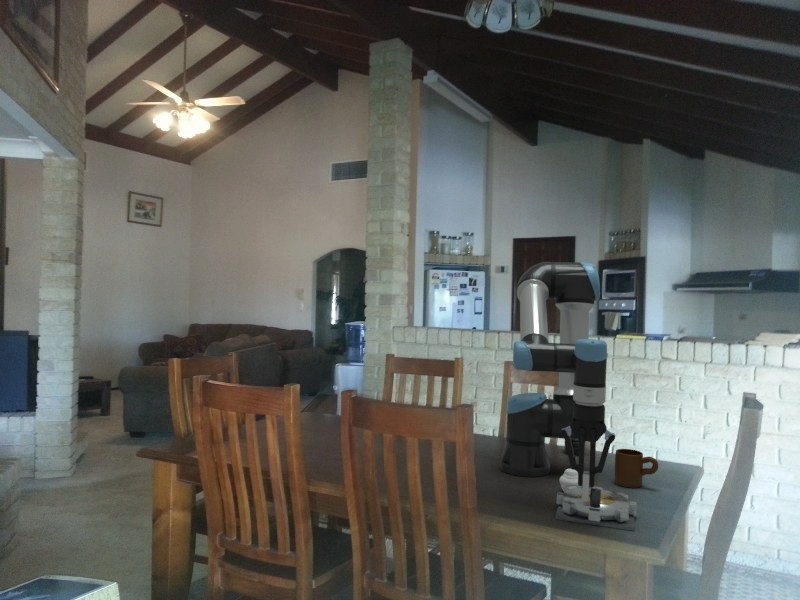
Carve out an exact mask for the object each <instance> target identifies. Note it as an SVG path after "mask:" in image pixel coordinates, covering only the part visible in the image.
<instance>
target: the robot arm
mask: <svg viewBox="0 0 800 600" xmlns="http://www.w3.org/2000/svg"><path fill="white" fill-rule="evenodd" d="M600 283H601V282H600V276H599V273H598V268H597V267H596V266H595V265H594V263H589V262H581V261H579V262H577V261H575V262H572V261H570V262H569V261H565V262H564V261H563V262H562V261H559V262H557V261H542V262H539V263H536V264H534V265H533V266H530V267H529V268H528V269H527V270H526V271H525V272H524V273H523V274H522V275H521V276H520V278H519V280H518V282H517V284H516V297H517V299H518V301H519V324H520V328H519V329H520V330H519V331H520V333H519V335H520V336H519V337H520V339H519V340H520V341H515V342H514V343H513V347H512V348H513V349H512V350H513V351H512V367H513V369H516V370H517V371H518V370H520V371H527V372H548V373H549V372H551V373H553V372H555V373H558V387H557V389H555V391H554V392H553V394H552V395H553V397H552V398H548V396H547V395H546V394H545V393H542V392H527V393H525V392H524V393H518V394H514V395H512V396H510V397H509V399H508V401H507V407H506V408H507V409H506V414H507V415H506V417H507V418H506V434H505V435H506V436H505V438H506V442H505V446H504V448H503V451H502V453H501V455H500V460H499V469H500V470H501V471H503V472H504V473H507V474H509V475H514V476H518V477H529V478H530V477H531V478H532V477H533V478H535V477H543V476H547V475H549V474H550V473H551V472H550V469H551V463H550V461H549V460H550V459H549V456H548V454H547V451H546V446H545V444H546V438H548V439H549V438H551V439H553V438H554V439H563V440H564V444H565V443H566V448H567V452H568V454H567V456H568V460H569V465H570V469H572V470H576V471H577V472H578V485H579V486H581V488H582V501H587V502H588V501H589V488H592V487H595V481H596V480H595V479H596V478H595V477H596V474H602V473H603V472H604V471H603V470H604V467H605V464H606V461H607V457H608V453H609V451H610V448H611V444H612V443H613V442H614V441H615V439H616V434H615V433H614V432H611V431H610V430H609V429H607V425H606V420H605V419H606V417H605V416H606V406H605V405H604V404H605V403H606V396H607V394H606V391H607V386H606V384H607V383H606V382H607V381H606V380H607V365H608V364H607V363H608V362H607V360H608V356H609V355H608V354H609V353H608V344H607V342H606V341H605V340H602V339H596V338H595V339H591V338H589V335H590V334H589V332H590V328H589V327H590V325H589V324H590V311H591V310H592V309H593V308H594V307H595V302H596V301H599V300H600V297H601V292H600V291H601V286H600V285H601V284H600ZM548 299H549V300H555V306H556V307H557V309H559V313H560V315H559V322H560V323H559V342H549V329H548V325H549V324H548V313H547V300H548ZM602 436H604V440H605V442H604V443H603V444H604V445H603V448H602V451H601V455H600V458H599V461H598V466H596V453H597V452H596V447H597V442H598V441H599V440H600V439H601V437H602ZM571 439H575V440H579V456H578V462H576V455H574V451H573V446H572V441H571ZM586 442H589V469H588V470H589V471H587V470H586V471H585V455H586Z"/></svg>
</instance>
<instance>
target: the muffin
mask: <svg viewBox="0 0 800 600" xmlns="http://www.w3.org/2000/svg"><path fill="white" fill-rule="evenodd" d="M559 483H560V484H559V485H560V487H561V489H562V492H565V491H567V487H572V486H575V487H577V488H582V486H579V485H578V472H577V471H576V470H572V469H571V468H567V469H565V470H564V473H563V474H562V475H561V476H560V477H559Z"/></svg>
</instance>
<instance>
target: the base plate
mask: <svg viewBox="0 0 800 600" xmlns="http://www.w3.org/2000/svg"><path fill="white" fill-rule="evenodd" d="M557 505H558V506H557V509H556V512H555V518H554V520H559V521H560V520H561V521H566V522H572V523H573V522H574V523H578V524H579V523H580V524H587V525H593V526H600V527H606V528H613V529H620V530H626V531H632V532H635V531H636V530H635V529H636V528H635V525H636V524H635V515H630V514H629V519H628V521H623V522H619V521H617V520H600V522H598V521H591V520H589V518H587V517H583V516H580V515H577V514H570V515H569V514H567V513H565V512H564V511H562V509H563V505H560V504H557Z"/></svg>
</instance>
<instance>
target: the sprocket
mask: <svg viewBox="0 0 800 600" xmlns="http://www.w3.org/2000/svg"><path fill="white" fill-rule="evenodd" d="M555 503H556V505H559V504H560V505H563V509H562V511H564V512H565V513H567V514H569V515H570V514H577V515H580V516H583V517H587V518H589V520H591V521H598V522H600V520H617V521H619V522H623V521H628V519H629V514H630V515H634V516H637V506H638V504H637V502H636V501H631V500H629V495H628V494H626V493H623V492H614V491H610V490H607V489H603V487H601V486H594V487H589V501H588V502H587V501H582V487H581V488H577V487H575V486H572V487H567V491H565V492H564V491H557V493H556V502H555Z"/></svg>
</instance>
